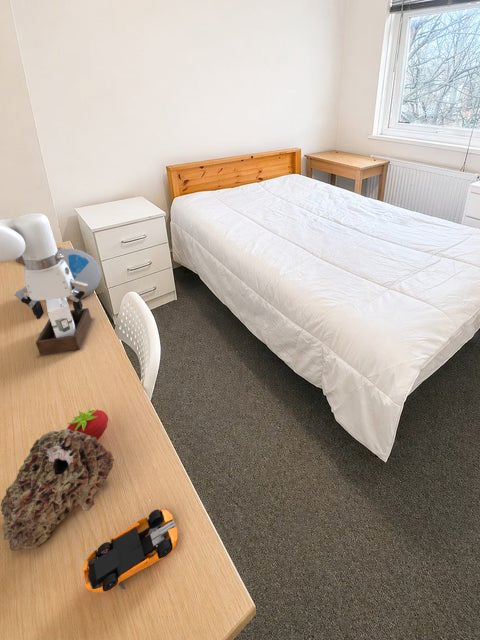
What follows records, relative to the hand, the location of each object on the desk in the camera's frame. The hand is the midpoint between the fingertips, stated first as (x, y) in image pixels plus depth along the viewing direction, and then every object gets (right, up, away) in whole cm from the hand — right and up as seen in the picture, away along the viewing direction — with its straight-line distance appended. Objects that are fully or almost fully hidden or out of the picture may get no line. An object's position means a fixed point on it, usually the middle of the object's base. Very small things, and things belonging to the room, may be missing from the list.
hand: (59, 313), depth 99 cm
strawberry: (+25, -22, -26) cm, 42 cm away
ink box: (0, -7, +3) cm, 8 cm away
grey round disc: (-12, +9, +22) cm, 26 cm away
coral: (+20, -16, -39) cm, 47 cm away
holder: (0, -8, +4) cm, 8 cm away
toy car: (+42, -27, -44) cm, 67 cm away
